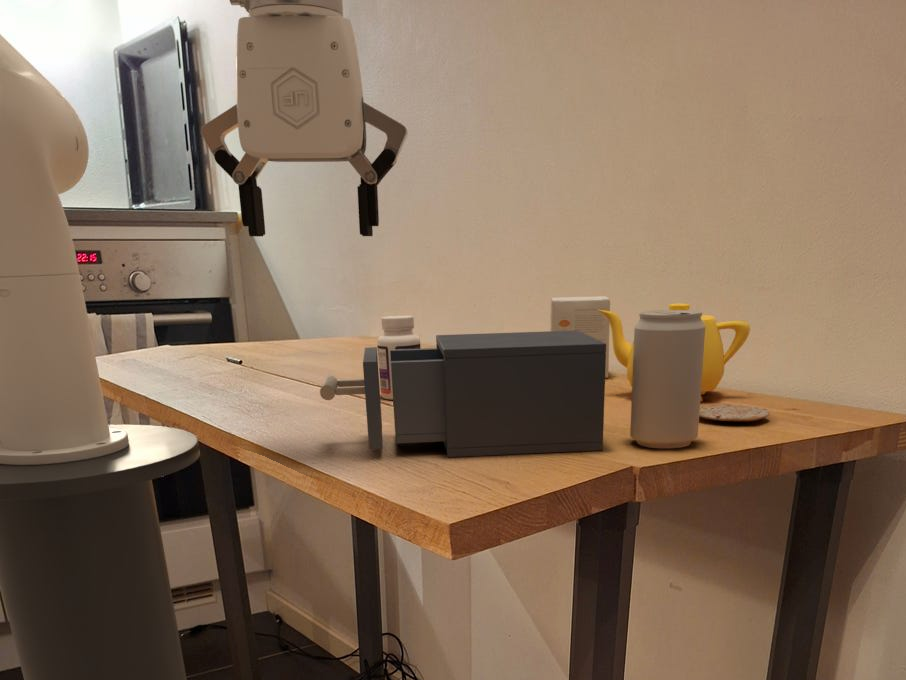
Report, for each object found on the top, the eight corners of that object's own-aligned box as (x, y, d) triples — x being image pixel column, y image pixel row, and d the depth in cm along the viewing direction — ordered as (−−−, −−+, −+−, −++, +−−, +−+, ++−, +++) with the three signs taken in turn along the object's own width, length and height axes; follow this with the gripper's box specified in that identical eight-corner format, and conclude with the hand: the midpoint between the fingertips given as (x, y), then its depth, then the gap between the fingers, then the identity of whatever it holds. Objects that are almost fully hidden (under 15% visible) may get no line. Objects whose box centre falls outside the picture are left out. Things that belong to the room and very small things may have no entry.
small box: (605, 373, 131) (607, 295, 127) (608, 378, 126) (611, 298, 121) (549, 374, 131) (550, 297, 127) (551, 379, 126) (551, 299, 122)
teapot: (588, 401, 109) (590, 307, 105) (602, 387, 119) (605, 300, 114) (742, 405, 104) (752, 306, 100) (744, 390, 114) (752, 300, 110)
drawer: (323, 451, 83) (314, 363, 80) (329, 427, 93) (322, 349, 90) (514, 443, 84) (513, 356, 81) (499, 420, 95) (498, 342, 91)
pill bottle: (428, 393, 117) (424, 314, 113) (416, 400, 113) (411, 318, 109) (388, 393, 119) (383, 314, 115) (375, 400, 114) (369, 318, 110)
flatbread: (678, 416, 98) (679, 407, 98) (729, 408, 102) (730, 399, 101) (734, 428, 92) (735, 418, 92) (785, 419, 96) (786, 409, 95)
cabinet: (447, 457, 83) (443, 349, 80) (439, 430, 95) (435, 335, 91) (602, 450, 85) (606, 343, 81) (576, 425, 96) (578, 330, 92)
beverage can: (674, 453, 83) (683, 315, 78) (616, 444, 87) (621, 312, 82) (709, 441, 87) (720, 309, 82) (652, 433, 91) (659, 307, 86)
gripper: (172, -9, 69) (201, 236, 76) (397, -11, 69) (405, 236, 76) (202, 13, 76) (226, 236, 83) (407, 11, 75) (414, 236, 82)
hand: (311, 236), depth 79 cm, fingers open, 9 cm apart
